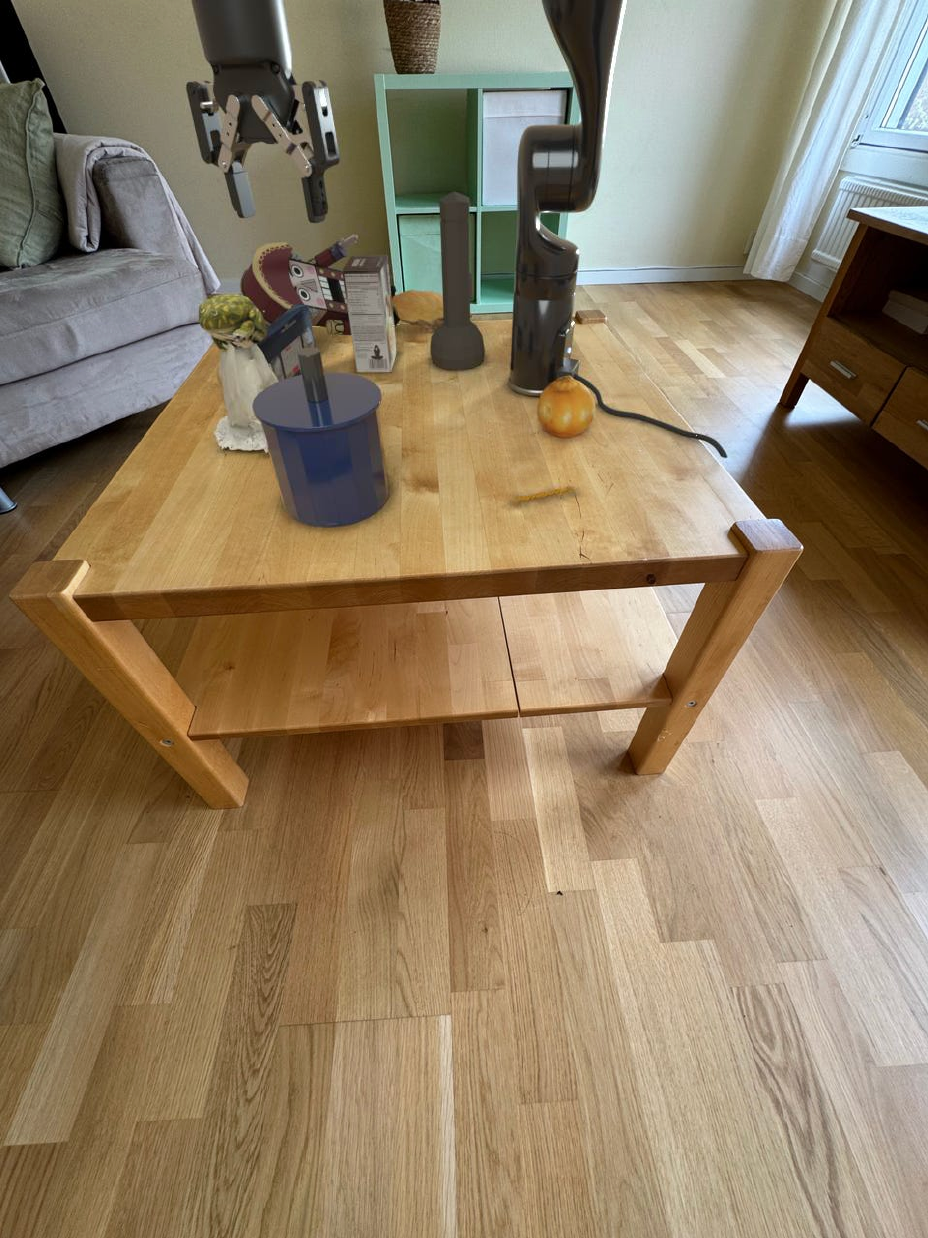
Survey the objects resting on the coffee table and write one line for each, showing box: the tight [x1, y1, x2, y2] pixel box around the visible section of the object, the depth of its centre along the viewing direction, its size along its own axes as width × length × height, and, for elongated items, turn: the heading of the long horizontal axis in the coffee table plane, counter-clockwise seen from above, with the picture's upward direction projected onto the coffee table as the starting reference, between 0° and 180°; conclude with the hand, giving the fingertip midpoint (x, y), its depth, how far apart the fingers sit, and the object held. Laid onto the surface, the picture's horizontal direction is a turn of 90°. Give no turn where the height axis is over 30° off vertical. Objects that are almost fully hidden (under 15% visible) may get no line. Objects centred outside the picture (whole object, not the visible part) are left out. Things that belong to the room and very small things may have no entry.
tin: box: [260, 406, 389, 528], centre depth 68 cm, size 13×13×12 cm
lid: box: [252, 347, 383, 432], centre depth 62 cm, size 14×14×6 cm
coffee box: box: [341, 254, 398, 373], centre depth 98 cm, size 9×6×16 cm
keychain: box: [514, 486, 573, 503], centre depth 72 cm, size 8×1×1 cm, turn 109°
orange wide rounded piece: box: [392, 289, 474, 334], centre depth 113 cm, size 17×4×10 cm
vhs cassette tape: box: [257, 304, 317, 382], centre depth 93 cm, size 18×3×10 cm, turn 167°
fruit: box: [536, 376, 596, 438], centre depth 82 cm, size 8×8×8 cm
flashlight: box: [429, 190, 486, 371], centre depth 95 cm, size 10×25×10 cm
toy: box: [239, 234, 401, 336], centre depth 102 cm, size 14×13×30 cm
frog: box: [197, 293, 278, 454], centre depth 78 cm, size 12×13×18 cm
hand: (281, 219), depth 59 cm, fingers open, 8 cm apart
